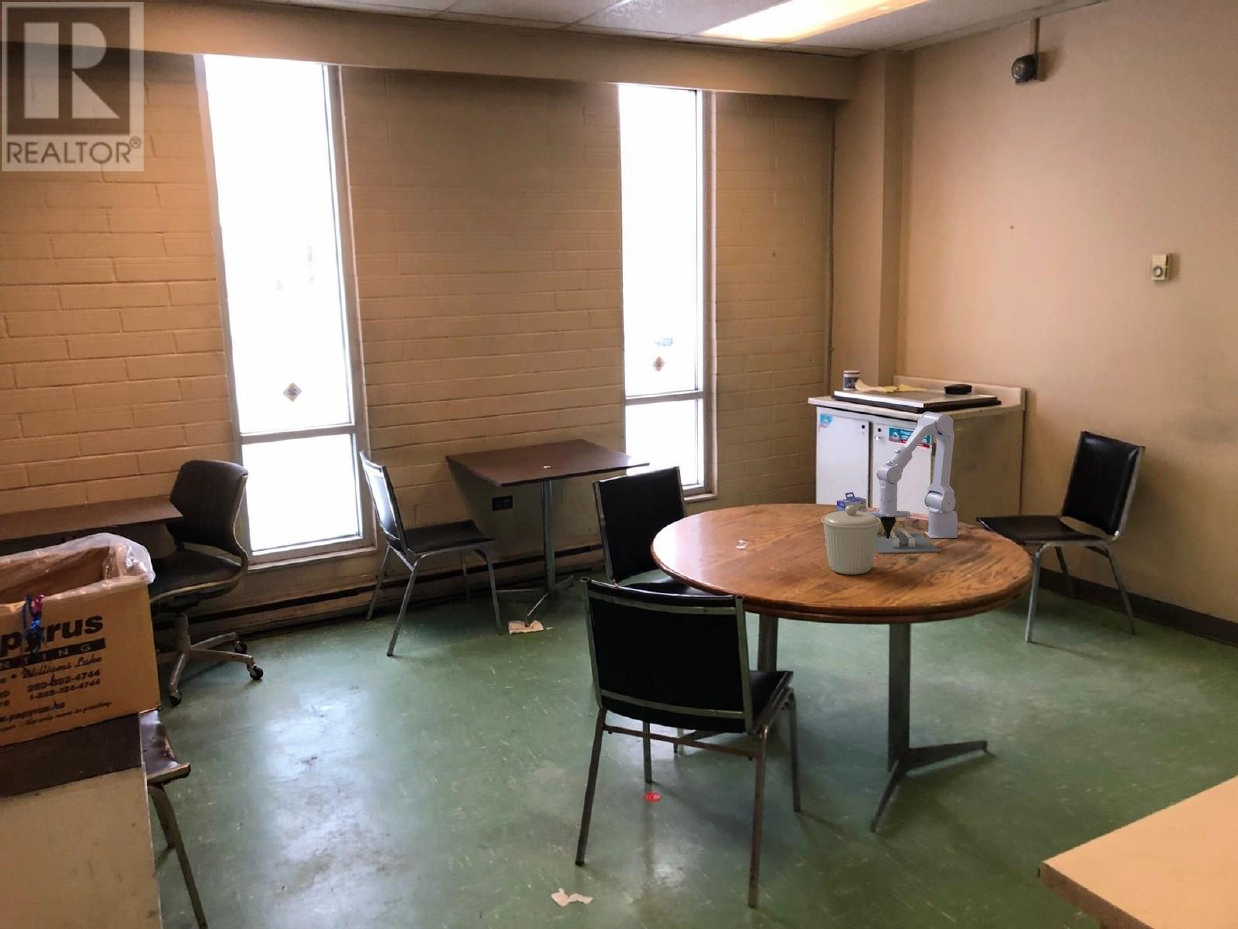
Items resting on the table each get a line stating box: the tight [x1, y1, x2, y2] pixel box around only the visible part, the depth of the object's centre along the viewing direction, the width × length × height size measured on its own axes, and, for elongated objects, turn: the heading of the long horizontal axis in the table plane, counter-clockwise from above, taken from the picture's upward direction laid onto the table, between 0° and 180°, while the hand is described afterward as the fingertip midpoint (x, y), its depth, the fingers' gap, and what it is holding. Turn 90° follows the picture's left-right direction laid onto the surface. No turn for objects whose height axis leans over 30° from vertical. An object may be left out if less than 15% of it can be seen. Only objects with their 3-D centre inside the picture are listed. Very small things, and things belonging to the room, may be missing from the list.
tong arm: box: [888, 529, 899, 548], centre depth 336 cm, size 2×16×3 cm, turn 174°
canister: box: [821, 505, 881, 576], centre depth 306 cm, size 18×18×21 cm
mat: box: [875, 530, 941, 555], centre depth 337 cm, size 20×26×1 cm
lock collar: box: [878, 518, 906, 535], centre depth 346 cm, size 8×3×5 cm, turn 89°
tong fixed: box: [897, 526, 915, 548], centre depth 336 cm, size 2×16×3 cm, turn 179°
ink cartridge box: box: [836, 491, 867, 512], centre depth 352 cm, size 10×6×14 cm, turn 115°
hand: (887, 538), depth 336 cm, fingers closed
